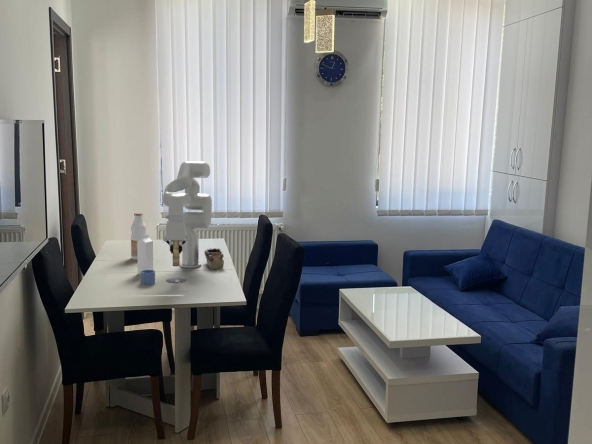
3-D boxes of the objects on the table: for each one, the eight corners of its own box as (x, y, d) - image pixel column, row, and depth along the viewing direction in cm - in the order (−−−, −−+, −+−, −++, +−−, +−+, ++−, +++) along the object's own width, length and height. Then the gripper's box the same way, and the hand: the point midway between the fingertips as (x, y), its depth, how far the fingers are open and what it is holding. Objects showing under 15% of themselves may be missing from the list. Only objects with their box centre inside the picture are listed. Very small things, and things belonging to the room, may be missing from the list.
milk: (137, 275, 336) (136, 235, 332) (144, 272, 342) (144, 234, 338) (146, 276, 334) (145, 236, 330) (153, 274, 339) (152, 235, 335)
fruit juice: (135, 261, 368) (134, 214, 364) (128, 258, 375) (127, 212, 371) (149, 259, 374) (149, 213, 369) (143, 256, 381) (142, 211, 377)
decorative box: (200, 270, 351) (200, 253, 349) (199, 262, 370) (199, 246, 369) (224, 269, 354) (224, 253, 352) (221, 261, 373) (221, 245, 371)
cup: (142, 282, 322) (141, 269, 320) (156, 282, 322) (155, 269, 321) (140, 286, 314) (139, 273, 313) (154, 286, 315) (154, 273, 314)
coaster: (166, 279, 330) (166, 277, 329) (187, 279, 331) (187, 277, 331) (164, 284, 319) (164, 283, 319) (186, 284, 320) (186, 283, 320)
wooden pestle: (173, 264, 324) (172, 231, 322) (179, 264, 325) (179, 231, 322) (172, 266, 321) (172, 232, 318) (179, 266, 321) (179, 232, 318)
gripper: (158, 219, 314) (159, 254, 317) (191, 219, 316) (191, 254, 319) (160, 217, 322) (160, 251, 325) (192, 217, 324) (192, 251, 326)
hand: (176, 252), depth 322 cm, fingers closed on wooden pestle, 3 cm apart
